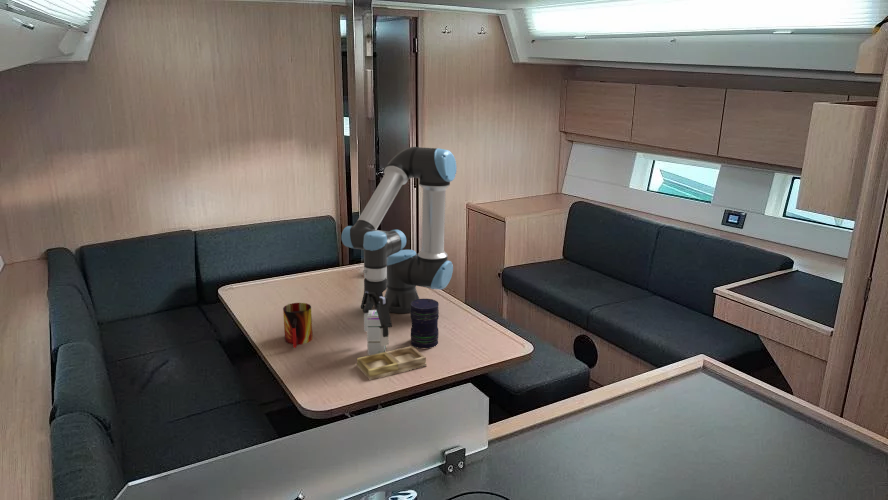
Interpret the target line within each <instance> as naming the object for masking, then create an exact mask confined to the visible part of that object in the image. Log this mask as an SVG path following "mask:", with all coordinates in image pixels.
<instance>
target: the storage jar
mask: <svg viewBox="0 0 888 500" xmlns="http://www.w3.org/2000/svg"><path fill="white" fill-rule="evenodd" d="M439 303H440V302H438V301H437V300H435V299H432V298H419V299H417V300H414V301H412V302H411V312H410V319H411V327H410V340H411V341H410V345H411V344H412V345H413V347H414V348H416V347H418V348H417V349H421V348H428V349H431V348H430V347H433V348H435V347H437V346H438V345H439V325H438V322H439V321H438V320H439V316H440V315H439V314H440V313H439ZM437 344H438V345H437ZM412 345H411V346H412ZM436 345H437V346H436ZM434 346H435V347H434Z"/></svg>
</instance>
